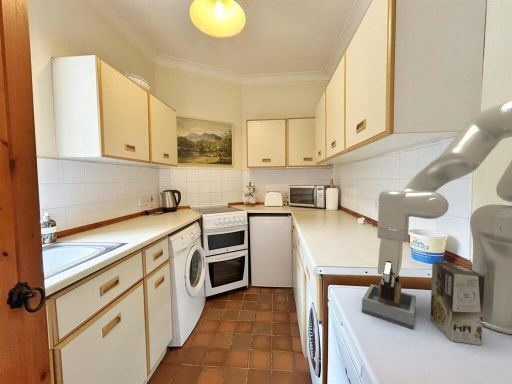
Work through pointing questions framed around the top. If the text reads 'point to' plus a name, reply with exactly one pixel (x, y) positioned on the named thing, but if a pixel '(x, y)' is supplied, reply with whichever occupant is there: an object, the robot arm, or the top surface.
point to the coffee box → (457, 302)
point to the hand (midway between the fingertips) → (389, 292)
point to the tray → (390, 308)
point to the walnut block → (397, 295)
